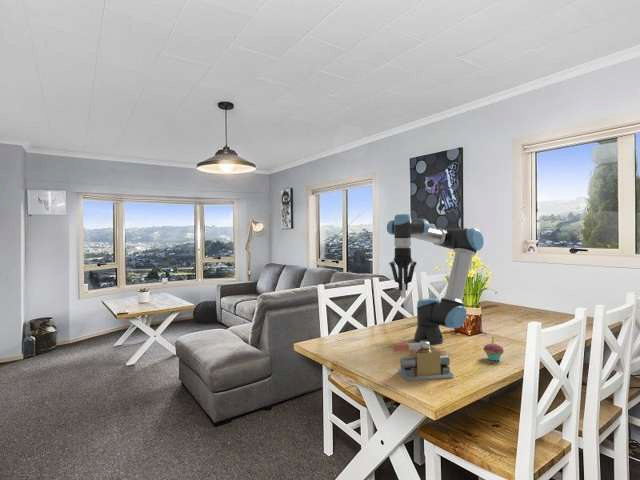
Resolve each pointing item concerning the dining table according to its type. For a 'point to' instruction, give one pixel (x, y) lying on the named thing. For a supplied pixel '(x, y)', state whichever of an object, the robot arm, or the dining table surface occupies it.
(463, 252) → the robot arm
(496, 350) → the cupcake
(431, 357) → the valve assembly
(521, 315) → the dining table surface
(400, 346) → the lever
